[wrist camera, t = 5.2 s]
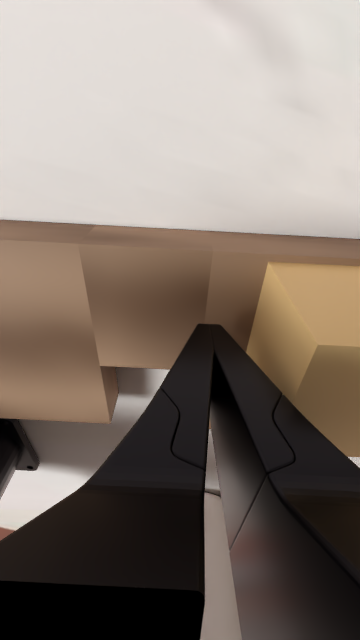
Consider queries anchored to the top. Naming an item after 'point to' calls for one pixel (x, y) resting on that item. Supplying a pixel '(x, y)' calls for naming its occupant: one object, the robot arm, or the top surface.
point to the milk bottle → (218, 577)
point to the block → (313, 344)
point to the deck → (123, 304)
